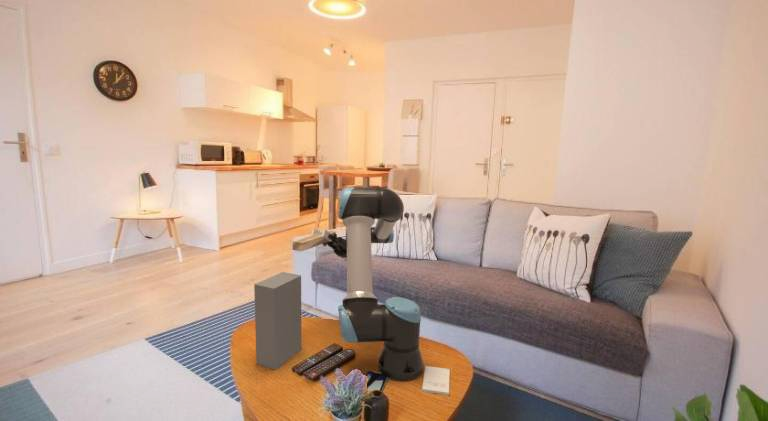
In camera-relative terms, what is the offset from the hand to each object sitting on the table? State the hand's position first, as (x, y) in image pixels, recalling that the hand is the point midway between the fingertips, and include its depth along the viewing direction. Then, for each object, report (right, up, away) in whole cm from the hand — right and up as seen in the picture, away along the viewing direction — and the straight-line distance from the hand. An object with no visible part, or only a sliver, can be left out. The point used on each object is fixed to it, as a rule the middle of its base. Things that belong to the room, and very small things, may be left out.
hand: (318, 232), depth 141 cm
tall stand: (-11, -43, -11) cm, 46 cm away
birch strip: (-1, -4, -1) cm, 5 cm away
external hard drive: (+41, -47, -22) cm, 66 cm away
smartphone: (+21, -47, -26) cm, 58 cm away
